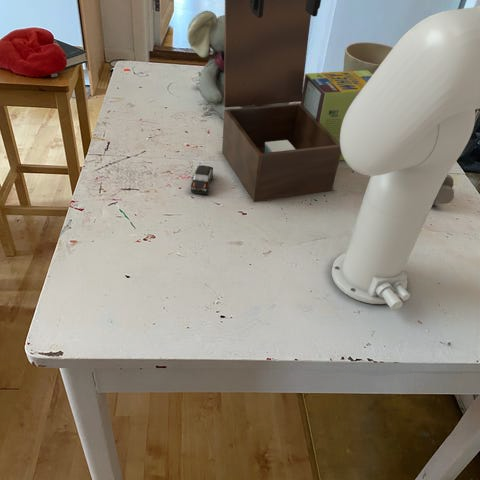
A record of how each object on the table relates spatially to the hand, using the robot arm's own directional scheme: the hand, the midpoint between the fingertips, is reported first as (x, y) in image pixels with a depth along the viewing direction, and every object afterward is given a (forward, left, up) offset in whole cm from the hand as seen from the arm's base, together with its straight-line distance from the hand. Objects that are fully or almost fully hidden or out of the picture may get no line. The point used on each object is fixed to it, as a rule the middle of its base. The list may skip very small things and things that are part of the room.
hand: (284, 14), depth 77 cm
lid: (+14, -4, -10) cm, 17 cm away
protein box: (+9, -21, -31) cm, 38 cm away
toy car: (+3, +12, -31) cm, 33 cm away
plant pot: (+22, -36, -31) cm, 52 cm away
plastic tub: (+2, -4, -30) cm, 30 cm away
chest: (+3, -4, -30) cm, 31 cm away
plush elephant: (+37, -6, -31) cm, 48 cm away
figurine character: (-13, -28, -31) cm, 43 cm away
